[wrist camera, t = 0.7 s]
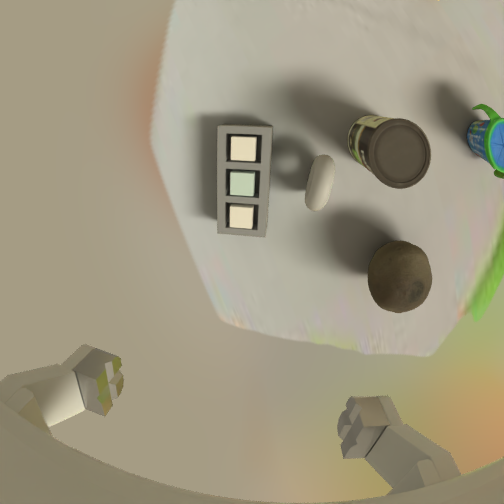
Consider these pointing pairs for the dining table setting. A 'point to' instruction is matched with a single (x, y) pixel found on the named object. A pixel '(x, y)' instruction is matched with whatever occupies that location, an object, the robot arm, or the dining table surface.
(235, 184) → the key mid
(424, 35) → the dining table surface
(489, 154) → the snack cup
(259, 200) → the keypad
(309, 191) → the donut
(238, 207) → the key far
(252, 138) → the key near
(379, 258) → the coconut
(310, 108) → the dining table surface
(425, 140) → the coffee can
